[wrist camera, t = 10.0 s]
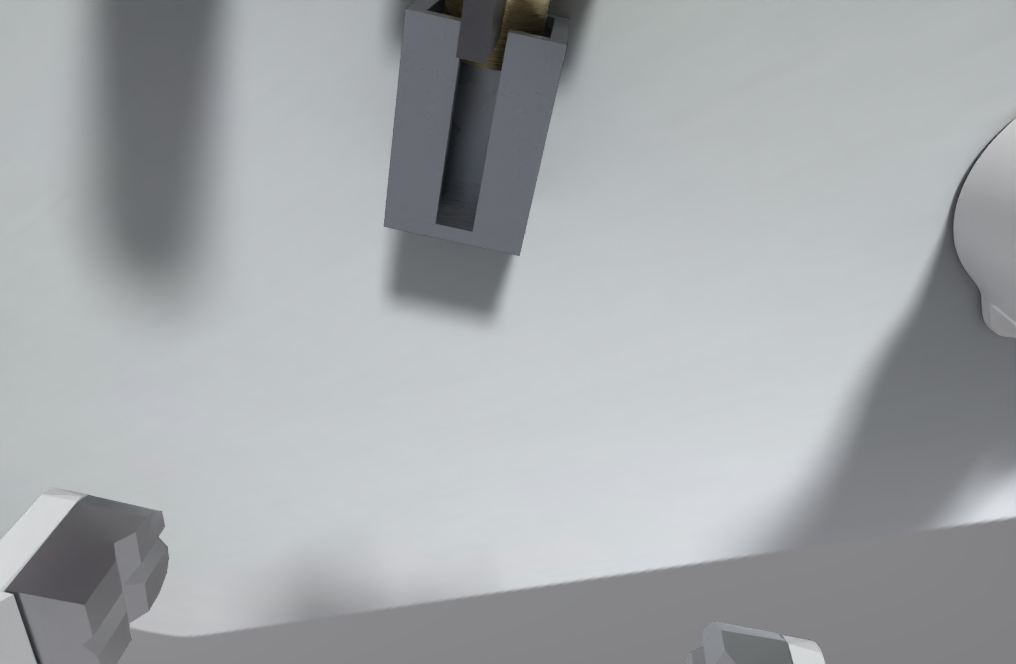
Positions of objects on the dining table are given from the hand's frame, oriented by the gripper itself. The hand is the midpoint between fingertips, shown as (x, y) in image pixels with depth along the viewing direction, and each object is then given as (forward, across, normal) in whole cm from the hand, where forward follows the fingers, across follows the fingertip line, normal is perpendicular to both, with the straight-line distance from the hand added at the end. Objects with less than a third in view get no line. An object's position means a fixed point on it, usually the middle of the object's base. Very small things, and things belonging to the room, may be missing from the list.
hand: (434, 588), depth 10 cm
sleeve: (+34, +3, +2) cm, 34 cm away
